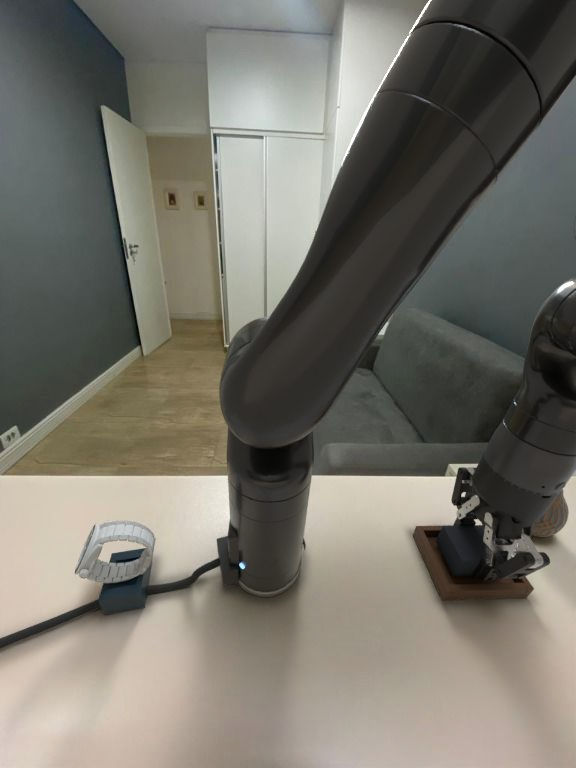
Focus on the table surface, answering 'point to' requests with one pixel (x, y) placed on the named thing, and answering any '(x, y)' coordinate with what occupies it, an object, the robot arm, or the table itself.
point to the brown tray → (463, 585)
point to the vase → (552, 518)
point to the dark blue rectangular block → (462, 548)
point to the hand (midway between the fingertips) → (469, 555)
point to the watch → (118, 565)
